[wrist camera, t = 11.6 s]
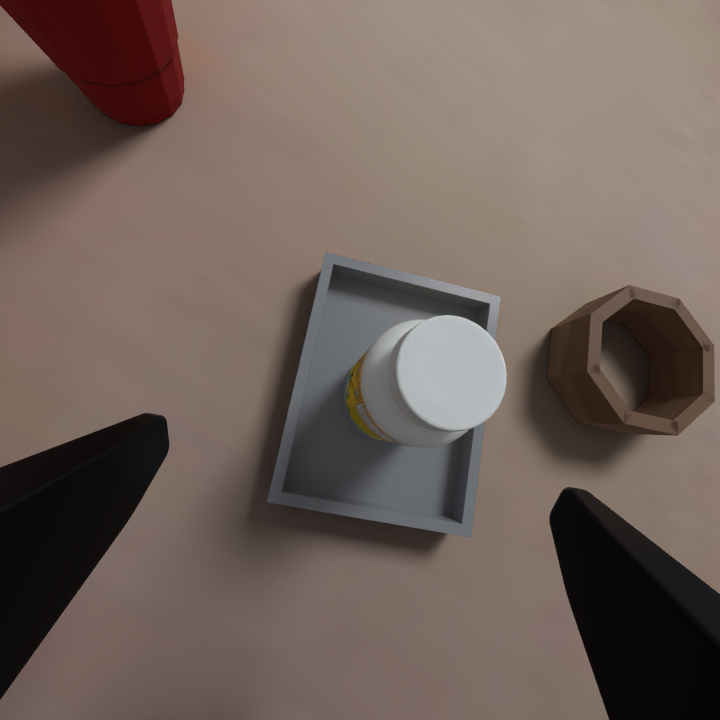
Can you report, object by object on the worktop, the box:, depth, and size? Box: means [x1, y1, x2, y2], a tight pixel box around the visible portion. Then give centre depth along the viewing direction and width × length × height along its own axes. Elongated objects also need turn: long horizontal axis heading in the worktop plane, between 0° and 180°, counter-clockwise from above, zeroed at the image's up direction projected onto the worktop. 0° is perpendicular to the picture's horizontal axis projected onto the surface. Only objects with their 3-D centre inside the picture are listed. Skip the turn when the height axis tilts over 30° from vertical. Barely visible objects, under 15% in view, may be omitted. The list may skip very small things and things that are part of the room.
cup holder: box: [547, 285, 715, 435], centre depth 23 cm, size 9×9×4 cm
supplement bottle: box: [345, 315, 506, 448], centre depth 17 cm, size 5×5×10 cm
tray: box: [267, 252, 500, 537], centre depth 21 cm, size 14×11×2 cm
